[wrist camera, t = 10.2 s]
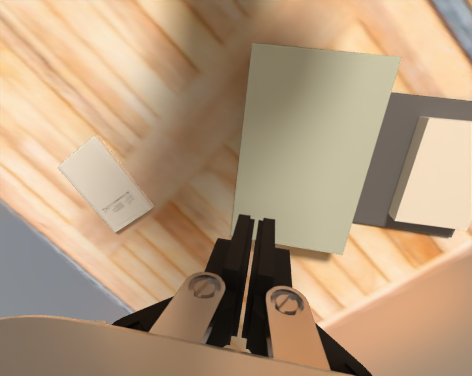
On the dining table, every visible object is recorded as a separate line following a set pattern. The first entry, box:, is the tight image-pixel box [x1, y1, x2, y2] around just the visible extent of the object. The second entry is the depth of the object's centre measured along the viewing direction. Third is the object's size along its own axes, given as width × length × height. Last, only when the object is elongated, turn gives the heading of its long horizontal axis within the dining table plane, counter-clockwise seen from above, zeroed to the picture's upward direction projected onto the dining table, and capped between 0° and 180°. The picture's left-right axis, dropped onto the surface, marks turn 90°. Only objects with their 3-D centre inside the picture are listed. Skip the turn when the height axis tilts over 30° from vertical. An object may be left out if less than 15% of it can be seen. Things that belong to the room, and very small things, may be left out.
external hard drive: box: [57, 135, 154, 233], centre depth 38 cm, size 2×8×12 cm
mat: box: [352, 93, 472, 237], centre depth 31 cm, size 16×13×1 cm
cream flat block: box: [388, 116, 472, 231], centre depth 30 cm, size 12×8×2 cm, turn 175°
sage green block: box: [231, 43, 402, 255], centre depth 31 cm, size 22×14×4 cm, turn 174°
